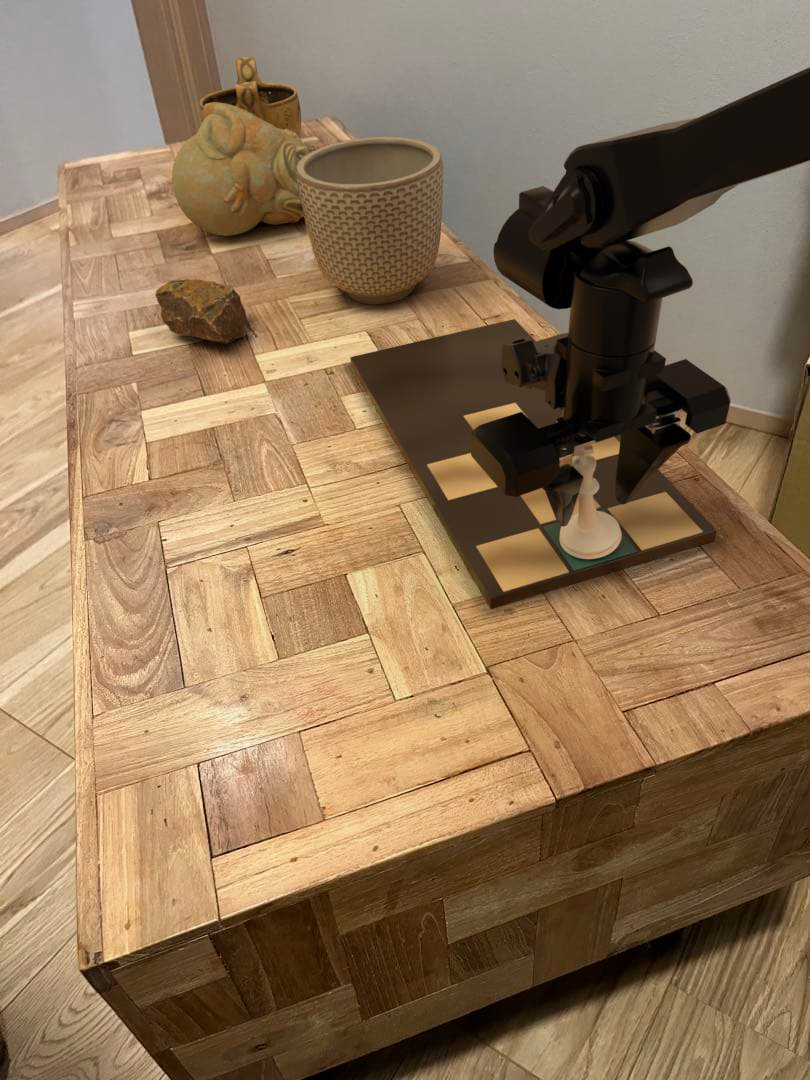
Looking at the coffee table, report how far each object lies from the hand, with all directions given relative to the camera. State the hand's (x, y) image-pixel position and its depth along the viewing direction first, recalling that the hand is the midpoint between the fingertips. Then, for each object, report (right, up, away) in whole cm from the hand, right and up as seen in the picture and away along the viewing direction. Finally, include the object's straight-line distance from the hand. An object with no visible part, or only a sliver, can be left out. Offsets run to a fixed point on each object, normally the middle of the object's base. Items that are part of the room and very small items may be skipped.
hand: (591, 512), depth 65 cm
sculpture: (-37, +45, +60) cm, 84 cm away
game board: (-5, +8, +15) cm, 17 cm away
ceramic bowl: (-41, +65, +82) cm, 112 cm away
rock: (-39, +22, +35) cm, 57 cm away
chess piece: (0, -2, +2) cm, 3 cm away
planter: (-18, +30, +41) cm, 54 cm away
